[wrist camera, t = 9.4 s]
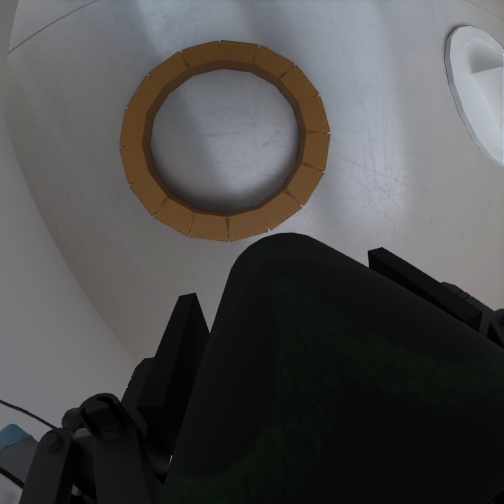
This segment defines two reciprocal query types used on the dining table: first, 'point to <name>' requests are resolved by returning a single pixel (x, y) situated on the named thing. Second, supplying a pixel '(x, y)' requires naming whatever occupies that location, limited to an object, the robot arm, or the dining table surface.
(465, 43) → the dish
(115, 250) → the dining table surface
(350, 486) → the cup
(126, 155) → the orange-brown segmented ring
